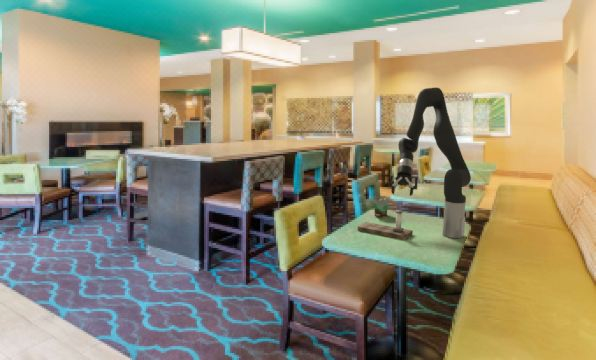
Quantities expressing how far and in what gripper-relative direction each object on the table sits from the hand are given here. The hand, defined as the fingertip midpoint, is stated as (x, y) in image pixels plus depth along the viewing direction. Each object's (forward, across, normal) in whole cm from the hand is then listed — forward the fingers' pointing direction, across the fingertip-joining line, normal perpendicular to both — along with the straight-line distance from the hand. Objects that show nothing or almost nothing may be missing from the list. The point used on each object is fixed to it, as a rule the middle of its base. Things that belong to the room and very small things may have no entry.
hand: (401, 194), depth 193 cm
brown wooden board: (+20, -6, +6) cm, 22 cm away
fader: (+19, 0, +3) cm, 20 cm away
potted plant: (-2, -11, +28) cm, 30 cm away
